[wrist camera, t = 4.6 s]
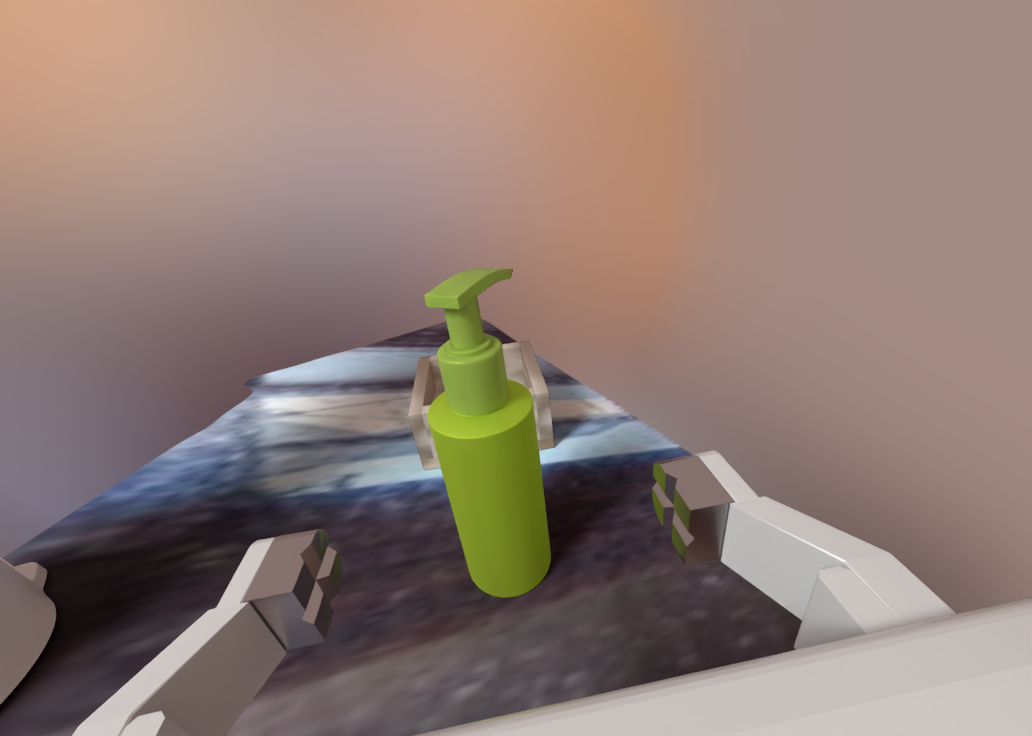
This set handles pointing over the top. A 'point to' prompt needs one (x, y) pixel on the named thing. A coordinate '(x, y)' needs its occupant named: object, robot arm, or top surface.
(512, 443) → the soap dispenser
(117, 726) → the robot arm
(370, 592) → the top surface
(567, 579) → the top surface
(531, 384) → the box
